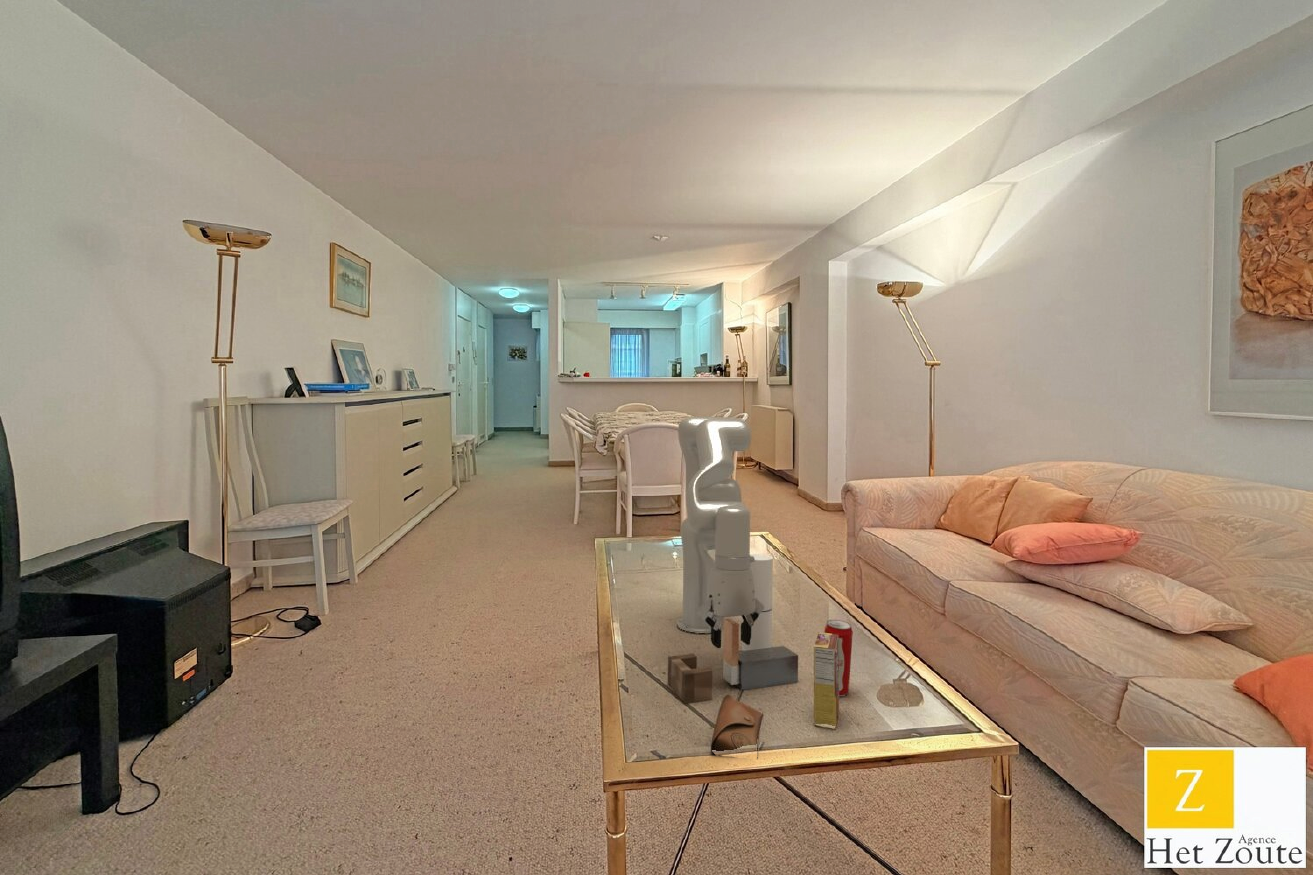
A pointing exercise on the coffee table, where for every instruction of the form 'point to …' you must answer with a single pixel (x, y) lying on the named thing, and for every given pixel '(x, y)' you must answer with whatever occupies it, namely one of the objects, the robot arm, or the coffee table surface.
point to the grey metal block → (767, 667)
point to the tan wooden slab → (731, 652)
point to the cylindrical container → (763, 594)
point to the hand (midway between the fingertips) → (731, 643)
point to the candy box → (826, 679)
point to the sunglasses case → (735, 725)
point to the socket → (689, 678)
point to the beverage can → (842, 651)
